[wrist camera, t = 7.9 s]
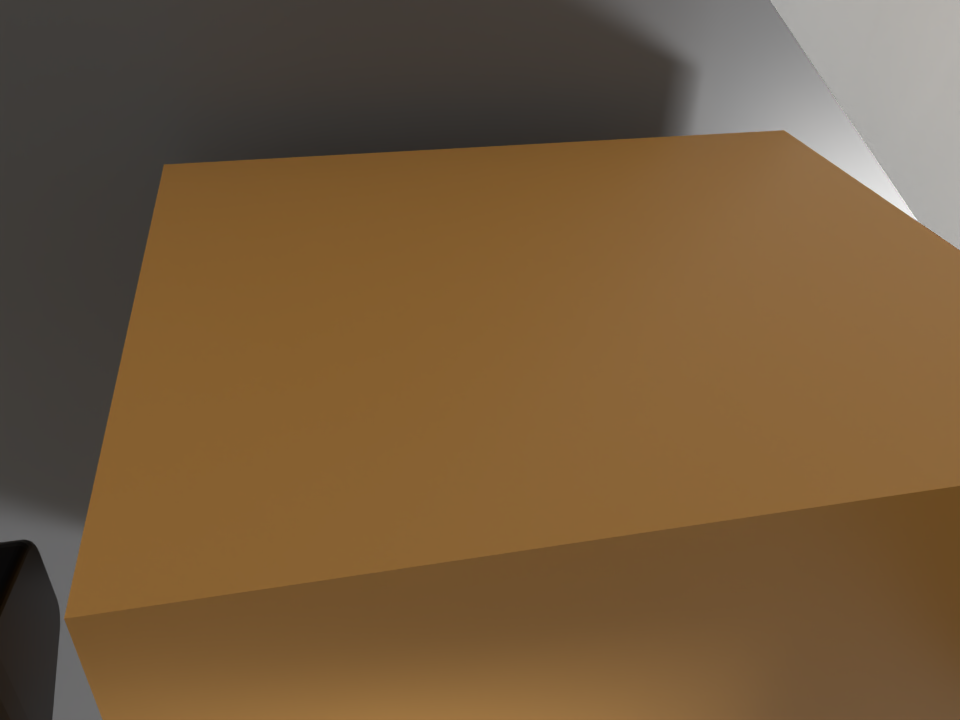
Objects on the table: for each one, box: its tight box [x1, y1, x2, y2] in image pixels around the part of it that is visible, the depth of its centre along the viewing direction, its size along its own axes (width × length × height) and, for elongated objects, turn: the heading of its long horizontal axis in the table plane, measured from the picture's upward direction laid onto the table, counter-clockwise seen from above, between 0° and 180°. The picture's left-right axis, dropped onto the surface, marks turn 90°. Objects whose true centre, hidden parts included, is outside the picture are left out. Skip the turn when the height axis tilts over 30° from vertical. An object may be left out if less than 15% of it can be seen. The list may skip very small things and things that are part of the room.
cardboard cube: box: [64, 130, 960, 720], centre depth 8 cm, size 6×6×5 cm
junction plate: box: [0, 0, 917, 720], centre depth 12 cm, size 18×12×2 cm, turn 134°
